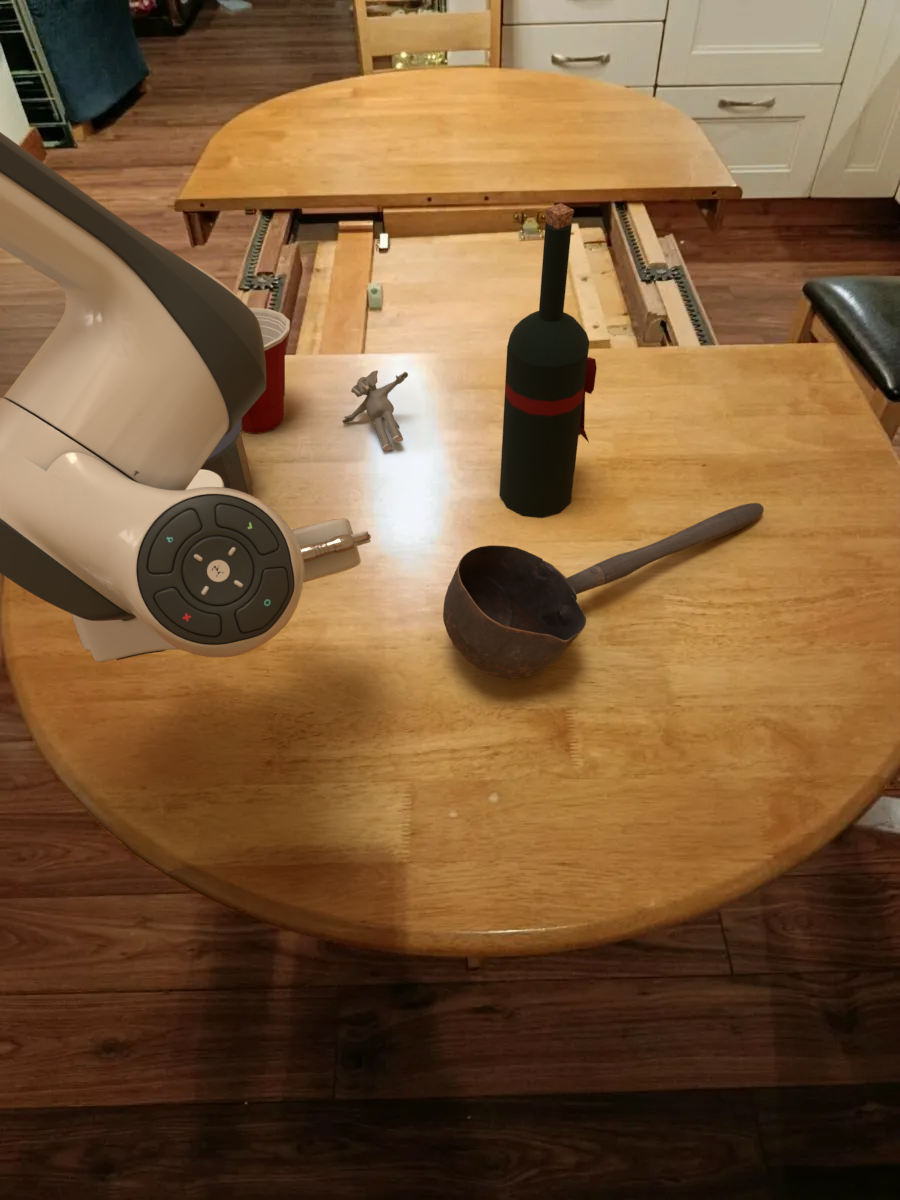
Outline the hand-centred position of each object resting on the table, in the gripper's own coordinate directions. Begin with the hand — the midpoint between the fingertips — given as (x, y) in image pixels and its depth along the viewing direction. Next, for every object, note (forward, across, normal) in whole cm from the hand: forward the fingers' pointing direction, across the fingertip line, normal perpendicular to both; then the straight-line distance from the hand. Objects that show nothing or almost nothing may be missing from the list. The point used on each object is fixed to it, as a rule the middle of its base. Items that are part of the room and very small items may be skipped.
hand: (220, 580), depth 67 cm
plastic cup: (+34, -10, -18) cm, 39 cm away
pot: (+26, 0, -10) cm, 28 cm away
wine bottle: (+16, -35, 0) cm, 39 cm away
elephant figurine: (+28, -23, -12) cm, 38 cm away
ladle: (+5, -35, +11) cm, 37 cm away
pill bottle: (+17, 0, 0) cm, 17 cm away
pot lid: (+20, 0, -16) cm, 25 cm away
